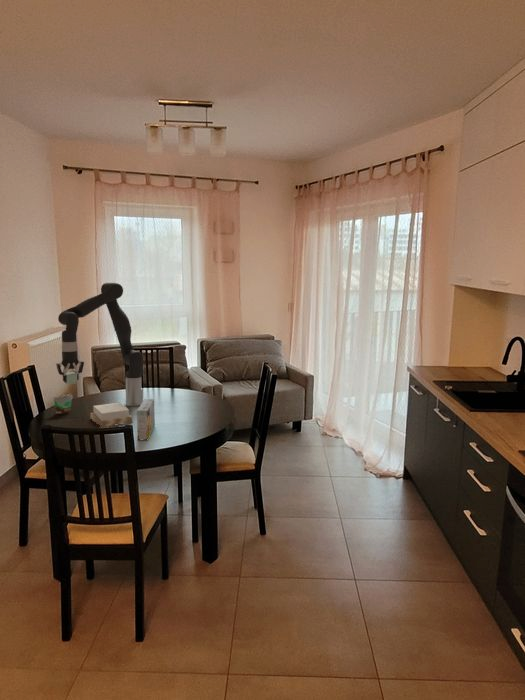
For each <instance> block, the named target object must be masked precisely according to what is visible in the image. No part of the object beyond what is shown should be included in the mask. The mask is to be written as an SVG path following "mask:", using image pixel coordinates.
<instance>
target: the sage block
mask: <svg viewBox="0 0 525 700" xmlns="http://www.w3.org/2000/svg"><path fill="white" fill-rule="evenodd" d="M66 378H67V382H66V383H65V384H67V385H72V384H78V381H77V374H76V373H75V371H73V372H72V371H71V372H67V373H66Z"/></svg>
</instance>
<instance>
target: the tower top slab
mask: <svg viewBox="0 0 525 700" xmlns="http://www.w3.org/2000/svg"><path fill="white" fill-rule="evenodd" d="M92 406H93V407H92V408H93V413H94V414H95V415H96V416H97V417H98V418H99V419H101V420H102V421H106V420H112V419H119V418H126V417H129V415H130V410H129V409H128V408H127V407H126V406H125V405H123V404H122V403H121V402H114V403H113V402H112V403H105V404H98V405H92Z"/></svg>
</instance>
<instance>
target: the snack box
mask: <svg viewBox="0 0 525 700" xmlns="http://www.w3.org/2000/svg"><path fill="white" fill-rule="evenodd" d="M155 419H156V418H155V398H143V402H142V404H141V405H139V407H138V408H137V410H136V421H137V425H136V427H137V440H138V439H148V438H149V439H150V437H151V435H150V434H152V433H153V431H152V430H154V429H155V427H154V426H156V423H155V422H156V421H155ZM153 428H154V429H153ZM151 432H152V433H151ZM149 436H150V437H149ZM149 439H148V440H149Z"/></svg>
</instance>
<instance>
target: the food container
mask: <svg viewBox="0 0 525 700" xmlns="http://www.w3.org/2000/svg"><path fill="white" fill-rule="evenodd" d="M72 399H73V395H72V393H71V392H66V394H64V395H60V396H59V397H58V396H57V397H54V398H53V402H54V407H55V408H54V409H55V415H57V414H61V415H66V414H65V413H67V414H70V413H71V412H70V411H72V410H71V409H72ZM69 412H70V413H69Z"/></svg>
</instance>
